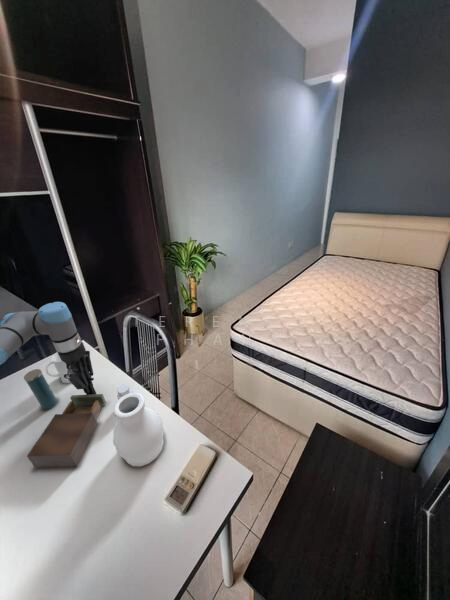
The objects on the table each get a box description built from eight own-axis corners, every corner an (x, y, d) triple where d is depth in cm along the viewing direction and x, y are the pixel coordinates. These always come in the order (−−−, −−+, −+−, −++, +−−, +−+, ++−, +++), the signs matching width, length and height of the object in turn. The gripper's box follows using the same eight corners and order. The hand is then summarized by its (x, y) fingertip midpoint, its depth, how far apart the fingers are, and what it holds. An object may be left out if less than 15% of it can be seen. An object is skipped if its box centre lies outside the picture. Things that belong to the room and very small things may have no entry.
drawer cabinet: (62, 426, 85) (55, 414, 82) (98, 425, 85) (92, 412, 82) (36, 469, 73) (26, 456, 70) (77, 467, 73) (70, 454, 70)
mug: (52, 390, 100) (40, 368, 94) (53, 376, 107) (42, 355, 101) (84, 378, 105) (74, 356, 99) (83, 366, 111) (74, 345, 106)
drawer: (78, 401, 93) (73, 392, 91) (107, 400, 93) (104, 391, 91) (56, 436, 81) (50, 427, 79) (90, 434, 81) (85, 425, 79)
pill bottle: (129, 397, 95) (124, 380, 91) (139, 402, 92) (133, 385, 88) (118, 407, 91) (111, 390, 87) (127, 413, 88) (121, 396, 84)
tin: (42, 403, 94) (24, 373, 87) (57, 397, 97) (41, 367, 89) (42, 413, 90) (23, 382, 83) (58, 406, 93) (40, 375, 85)
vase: (138, 482, 68) (120, 439, 59) (111, 452, 76) (90, 409, 67) (176, 441, 78) (165, 398, 69) (148, 418, 86) (135, 377, 77)
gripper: (70, 359, 76) (94, 410, 87) (90, 334, 87) (108, 381, 98) (46, 360, 76) (73, 411, 87) (69, 335, 87) (90, 382, 99)
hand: (92, 395), depth 93 cm, fingers closed
